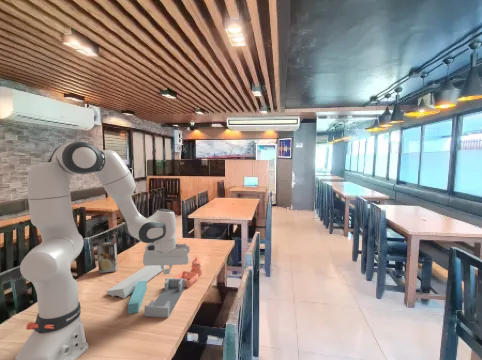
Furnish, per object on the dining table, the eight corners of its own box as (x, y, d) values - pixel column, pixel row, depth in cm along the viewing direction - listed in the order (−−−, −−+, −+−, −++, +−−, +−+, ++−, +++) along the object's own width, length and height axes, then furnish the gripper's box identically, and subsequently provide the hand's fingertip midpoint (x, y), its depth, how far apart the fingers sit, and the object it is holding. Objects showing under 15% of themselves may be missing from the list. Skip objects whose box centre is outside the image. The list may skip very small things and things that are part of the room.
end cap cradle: (168, 319, 102) (168, 307, 102) (144, 318, 103) (144, 306, 103) (185, 288, 127) (185, 278, 127) (166, 287, 128) (166, 277, 127)
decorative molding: (109, 300, 119) (125, 298, 116) (106, 291, 119) (122, 288, 116) (152, 270, 152) (166, 268, 149) (150, 262, 152) (164, 260, 149)
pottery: (188, 289, 127) (188, 270, 126) (173, 285, 130) (173, 267, 129) (206, 274, 143) (206, 257, 142) (192, 271, 147) (192, 255, 146)
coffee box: (118, 267, 151) (117, 241, 150) (115, 271, 145) (114, 244, 144) (101, 268, 149) (100, 242, 147) (98, 273, 142) (97, 246, 141)
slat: (138, 314, 106) (138, 303, 106) (128, 315, 105) (127, 304, 105) (146, 290, 126) (146, 280, 125) (138, 290, 125) (138, 281, 124)
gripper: (190, 241, 117) (190, 269, 118) (145, 242, 115) (146, 271, 116) (188, 246, 111) (189, 276, 112) (141, 247, 109) (142, 277, 110)
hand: (166, 273), depth 114 cm, fingers closed
